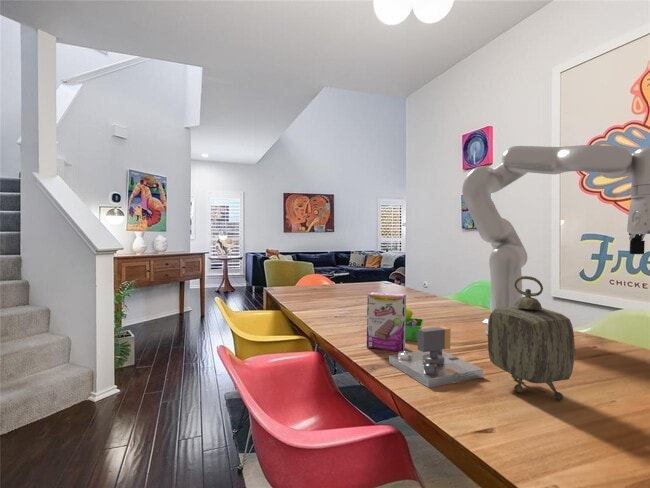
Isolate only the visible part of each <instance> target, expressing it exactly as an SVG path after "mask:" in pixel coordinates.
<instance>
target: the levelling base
mask: <svg viewBox="0 0 650 488" xmlns="http://www.w3.org/2000/svg"><path fill="white" fill-rule="evenodd" d="M429 352H430V351H429ZM429 352H422V351H420V350H418V351H412V352H411V351H408V350H404V351H400V352H399V351H397V354H391V355H388V363H389V365H391V366H393V367H395V368H397V369H398V370H399V371H401V372H402V373H404V374H406V375H407V376H409V377H410V378H412V379H414V380H416V381H417V382H418V383H419V384H422V385H423V386H424V387H427V388H429V389H430V388H435V387H440V386H445V385H451V384H456V383H462V382H466V381H471V380H476V379H483V378H484V368H482V367H480V366H477V365H475V364H473V363H471V362H469V361H466V360H464V359H462V358H459V357H457V356H454V355H453V354H450V353H447V352H445V350H438V355H440V356H442V357H444V359H445V360H444V363H443V364H439V365H437V364H435V363H432V362H424V361H423V355H426V354H429Z"/></svg>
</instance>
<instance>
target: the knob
mask: <svg viewBox="0 0 650 488" xmlns="http://www.w3.org/2000/svg"><path fill="white" fill-rule="evenodd" d="M450 349H451V328H449V327H447V326H444V325H443V326H436V327H429V328H428V327H426V328H421V329H418V341H417V350H418V351H422V352H429V351H430V352H429V354H426V355H423V361H424V362H432V363H435V364H437V365H439V364H443V363H444V360H445V359H444V357H442V356H440V355H438V350H442V351H444V350H450Z"/></svg>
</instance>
